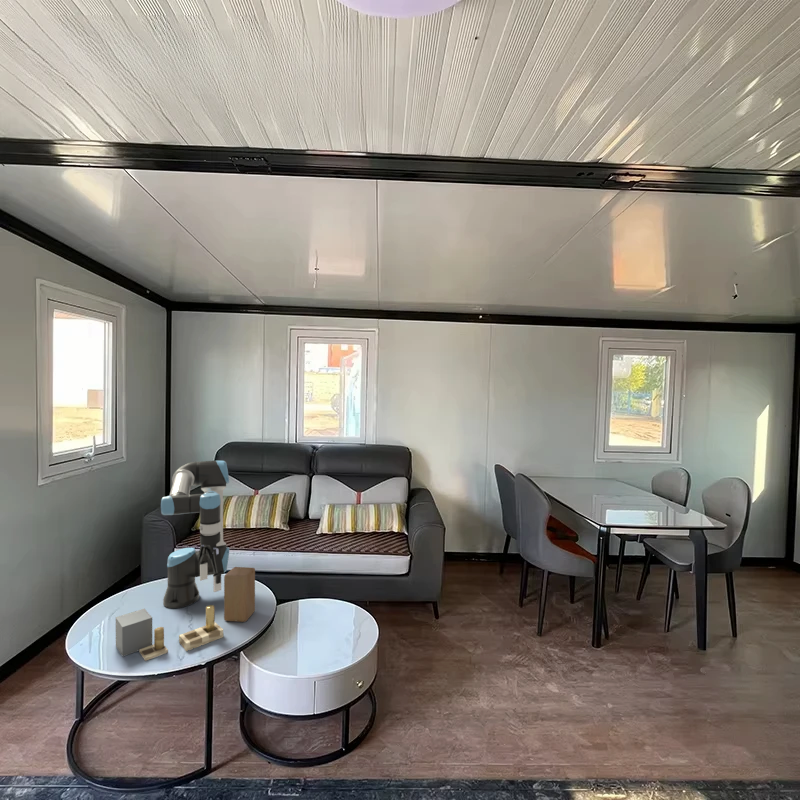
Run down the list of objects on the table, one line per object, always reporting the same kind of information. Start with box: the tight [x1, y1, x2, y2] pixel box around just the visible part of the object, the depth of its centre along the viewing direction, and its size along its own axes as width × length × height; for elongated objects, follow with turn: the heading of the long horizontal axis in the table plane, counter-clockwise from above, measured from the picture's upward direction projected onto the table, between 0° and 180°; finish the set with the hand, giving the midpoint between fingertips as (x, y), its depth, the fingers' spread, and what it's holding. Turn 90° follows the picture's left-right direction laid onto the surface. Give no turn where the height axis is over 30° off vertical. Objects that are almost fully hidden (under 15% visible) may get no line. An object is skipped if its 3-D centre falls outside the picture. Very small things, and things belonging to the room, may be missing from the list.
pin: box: [205, 604, 216, 633], centre depth 176 cm, size 3×3×12 cm
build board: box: [178, 621, 224, 652], centre depth 174 cm, size 8×14×3 cm, turn 135°
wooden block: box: [223, 566, 256, 623], centre depth 192 cm, size 10×10×20 cm
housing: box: [115, 608, 153, 657], centre depth 170 cm, size 10×10×11 cm
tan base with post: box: [138, 626, 169, 662], centre depth 166 cm, size 8×8×8 cm
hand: (210, 585), depth 177 cm, fingers open, 13 cm apart
